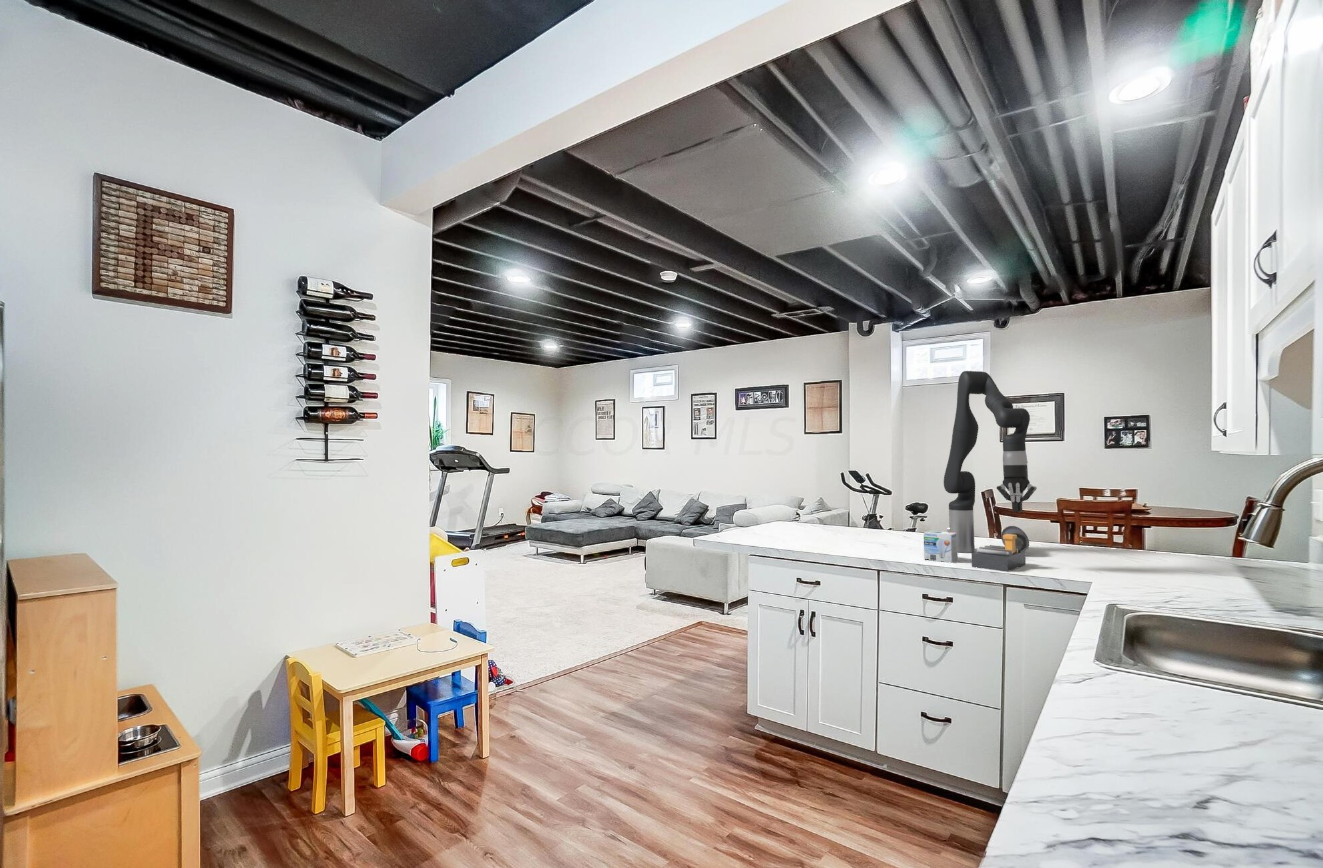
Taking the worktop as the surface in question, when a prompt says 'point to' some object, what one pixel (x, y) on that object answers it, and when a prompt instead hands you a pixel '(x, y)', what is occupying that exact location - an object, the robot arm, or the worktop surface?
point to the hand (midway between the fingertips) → (1017, 512)
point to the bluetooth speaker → (1021, 538)
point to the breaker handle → (1010, 542)
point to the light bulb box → (940, 546)
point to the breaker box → (998, 559)
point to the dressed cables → (995, 551)
